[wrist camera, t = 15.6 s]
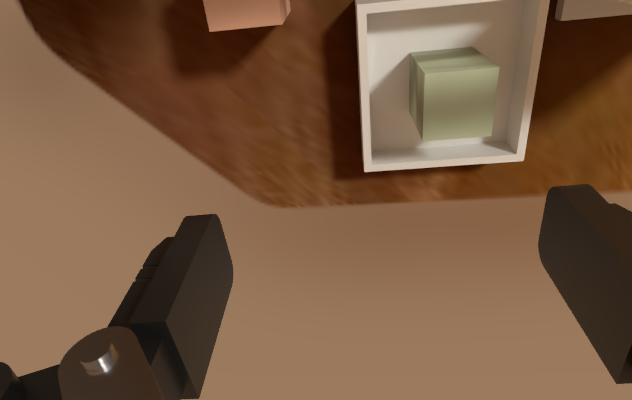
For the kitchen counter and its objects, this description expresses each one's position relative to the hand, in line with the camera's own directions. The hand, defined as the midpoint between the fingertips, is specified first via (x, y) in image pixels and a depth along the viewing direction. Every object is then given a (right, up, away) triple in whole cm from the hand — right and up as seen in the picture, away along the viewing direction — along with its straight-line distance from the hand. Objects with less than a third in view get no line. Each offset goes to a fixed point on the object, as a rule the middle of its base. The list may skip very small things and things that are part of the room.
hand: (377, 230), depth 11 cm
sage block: (+8, +10, +22) cm, 25 cm away
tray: (+8, +10, +22) cm, 26 cm away
